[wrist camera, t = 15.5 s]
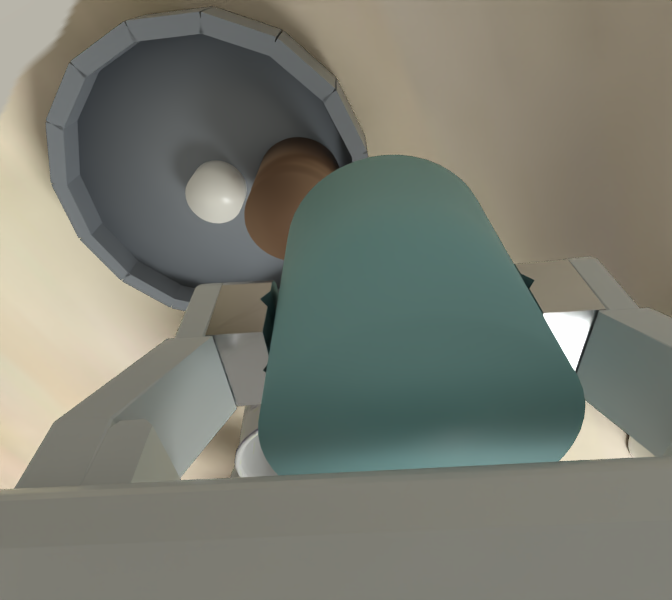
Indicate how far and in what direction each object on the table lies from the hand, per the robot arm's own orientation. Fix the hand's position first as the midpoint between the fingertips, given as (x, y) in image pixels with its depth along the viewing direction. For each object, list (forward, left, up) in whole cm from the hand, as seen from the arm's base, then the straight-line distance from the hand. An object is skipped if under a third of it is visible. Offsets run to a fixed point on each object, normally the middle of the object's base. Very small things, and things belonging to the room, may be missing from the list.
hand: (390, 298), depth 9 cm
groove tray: (+8, +4, -18) cm, 20 cm away
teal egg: (0, 0, -2) cm, 2 cm away
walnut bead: (+4, +4, -17) cm, 18 cm away
